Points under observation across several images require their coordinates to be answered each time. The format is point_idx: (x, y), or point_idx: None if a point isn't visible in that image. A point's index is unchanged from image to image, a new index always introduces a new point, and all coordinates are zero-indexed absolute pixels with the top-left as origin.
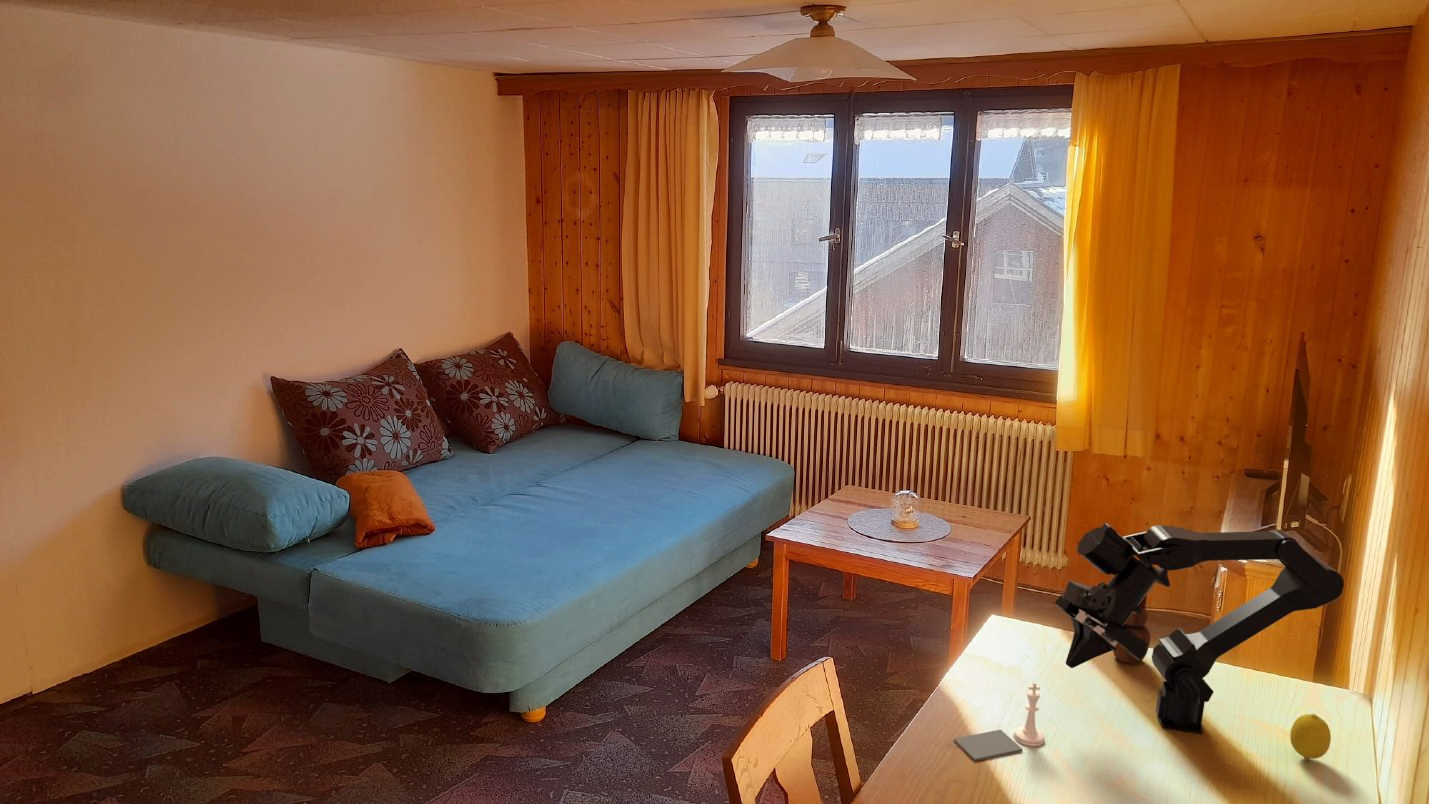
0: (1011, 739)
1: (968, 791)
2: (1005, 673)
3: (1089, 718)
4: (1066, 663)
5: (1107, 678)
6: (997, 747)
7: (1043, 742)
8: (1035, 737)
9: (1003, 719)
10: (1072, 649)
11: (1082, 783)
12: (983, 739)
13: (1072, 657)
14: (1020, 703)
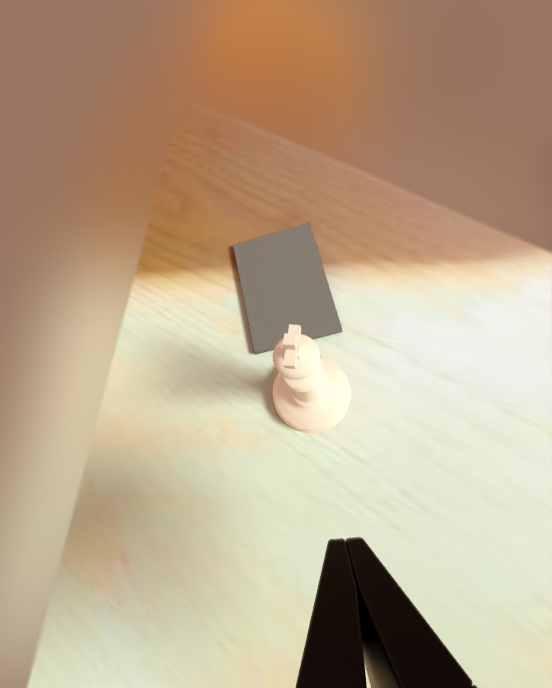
0: None
1: (152, 218)
2: None
3: None
4: (349, 538)
5: None
6: (267, 299)
7: (284, 420)
8: (283, 395)
9: (403, 359)
10: (397, 641)
11: (121, 442)
12: (301, 279)
13: (332, 589)
14: (503, 443)
